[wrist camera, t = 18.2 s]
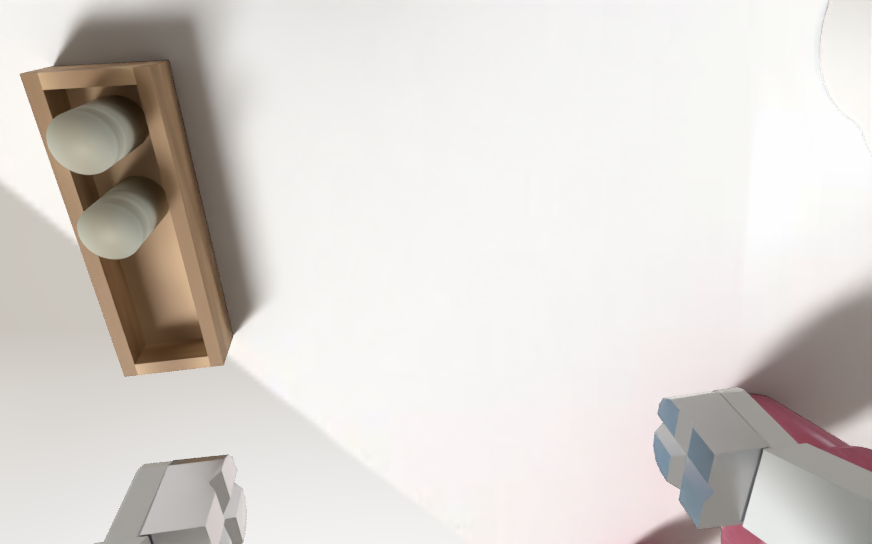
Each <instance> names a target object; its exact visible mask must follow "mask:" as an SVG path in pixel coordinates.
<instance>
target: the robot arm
mask: <svg viewBox="0 0 872 544" xmlns="http://www.w3.org/2000/svg"><path fill="white" fill-rule="evenodd" d="M820 68H821V75H822V79H823V83H824V86H825V89H826V91H827V94H828V96H829V97H830V99H831V101H832V102H833V104H834V105H835V107H836V108H837V109H838V110H839V111H840V112H841V113H842V114H843V115H844V116H846V117H847V118H848V119H850V120H851V121H852V122H853V123H855V124H856V125H857V126H858V127H859V128H860V130H861V131H862V134H863V138H864V140H865V143H866V146H867V148H868V151H869V152H870V154H871V155H872V0H830V2H829V5H828V8H827V11H826V14H825V18H824V22H823V27H822V32H821V40H820ZM658 416H659V417H660V419H661V420H662V421H663V424H662V425H661V426H660V427H659V428H658V429H657V430H656V431H655V434H654V444H653V447H654V453H655V459H656V462H657V464H658V467H659V469H660V471H661V473H662V475H663V476H664V478H665V479H666V481H667V482H669V483H670V484H672V485H674V486H675V487H677V488H679V489H680V495H679V501H680V503H681V504H682V506H683V507H684V509H685V511H686V512H687V514H688V515H689V517H690V518H691V520H692V521H693V523H694V524H695V526H696V527H697V529H706V528H714V527H722V526H730V525H738V524H743V527H744V528H746V529H747V530H748V531H750V532H751V533H753V534H754V535H755V536H757V537H758V538H760V539H761V540H762V541H764V542H765V543H767V544H872V472H871V471H868V470H866V469H864V468H862V467H859V466H857V465H855V464H853V463H850V462H848V461H846V460H844V459H841V458H839V457H837V456H835V455H832V454H830V453H828V452H826V451H823V450H821V449H819V448H817V447H814V446H812V445H810V444H808V443H803V444H798V443H797V442H796V441H795V440H794V439H793V438H792V437H791V436H790V435H789V434H788V433H787V432H786V431H785V430H784V429H783V428H782V427H781V426H780V425H779V424H778V423H777V422H776V421H775V420H774V419H773V418H772V417H771V416H770V415H769V414H768V413H767V412H766V411H765V410H764V409H763V408H762V407H761V406H760V405H759V404H758V403H757V402H756V401H755V400H754V399H753V398H752V397H751V396H750V395H749V394H748V393H747V392H746V391H745V390H743V389H741V388H739V387H734V388H728V389H721V390H714V391H712V392H703V393H695V394H688V395H681V396H674V397H666V398H663V399H662V401H661V402H660V404H659V409H658ZM236 473H237V468H236V465H235V462H234V459H233V456H231V455H220V456H210V457H201V458H191V459H183V460H173V461H170V462H160V463H150V464H144V465H143V466H142V467H140V468H139V469H138V471H137V472H136V474H135V476H134V479H133V481H132V483H131V485H130V487H129V489H128V492H127V494H126V496H125V498H124V500H123V502H122V504H121V506H120V508H119V510H118V513H117V515H116V517H115V519H114V521H113V523H112V526H111V528H110V530H109V532H108V534H107V536H106V538H105V540H104V542H100V543H95V544H242V543H243V541H244V536H245V531H246V514H247V510H246V503H245V502H246V501H245V496H244V492H243V489H242V488H241V487H240V486H239V485H237V484H236V483H234V481H235V477H236Z"/></svg>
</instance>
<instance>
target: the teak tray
mask: <svg viewBox="0 0 872 544" xmlns="http://www.w3.org/2000/svg"><path fill="white" fill-rule="evenodd" d="M20 77H21V80H22V82H23V85H24V88H25V91H26V94H27V97H28V100H29V103H30V105H31V108H32V111H33V114H34V117H35V120H36V123H37V126H38V129H39V131H40V134H41V137H42V140H43V143H44V146H45V149H46V152H47V154H48V157H49V160H50V163H51V166H52V169H53V172H54V175H55V177H56V180H57V183H58V186H59V189H60V192H61V195H62V198H63V201H64V203H65V206H66V209H67V212H68V215H69V218H70V221H71V224H72V226H73V229H74V232H75V235H76V238H77V241H78V244H79V247H80V250H81V252H82V255H83V258H84V261H85V264H86V267H87V270H88V273H89V275H90V278H91V281H92V284H93V287H94V290H95V293H96V296H97V298H98V301H99V304H100V307H101V310H102V313H103V316H104V319H105V321H106V324H107V327H108V330H109V333H110V336H111V338H112V342H113V345H114V347H115V350H116V353H117V356H118V359H119V362H120V365H121V368H122V371H123V373H124V376H125V377H126V376H135V375H143V374H151V373H161V372H169V371H178V370H186V369H195V368H204V367H213V366H221V365H224V362H225V360H226V356H227V353H228V350H229V347H230V344H231V341H232V338H233V333H232V329H231V325H230V320H229V316H228V312H227V308H226V303H225V299H224V295H223V290H222V286H221V282H220V278H219V273H218V269H217V265H216V260H215V256H214V252H213V248H212V243H211V239H210V235H209V230H208V226H207V222H206V218H205V213H204V209H203V205H202V200H201V196H200V192H199V188H198V183H197V179H196V175H195V170H194V166H193V162H192V158H191V153H190V149H189V145H188V140H187V136H186V132H185V128H184V123H183V119H182V115H181V110H180V106H179V102H178V98H177V93H176V89H175V85H174V80H173V76H172V72H171V68H170V63H169V60H161V61H143V62H124V63H105V64H86V65H67V66H52V67H47V68H43V69H39V70H34V71H30V72H25V73H21V74H20Z"/></svg>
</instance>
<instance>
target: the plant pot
mask: <svg viewBox="0 0 872 544" xmlns="http://www.w3.org/2000/svg"><path fill="white" fill-rule="evenodd" d="M749 395H750V396H751V397H752V398H753V399H754V400H755V401H756V402H757V403H758V404H759V405H760V406H761V407H762V408H763V409H764V410H765V411H766V412H767V413H768V414H769V415H770V416H771V417H772V418H773V419H774V420H775V421H776V422H777V423H778V424H779V425H780V426H781V427H782V428H783V429H784V430H785V431H786V432H787V433H788V434H789V435H790V436H791V437H792V438H793V439H794V440H795V441H796V442H797V443H798V444H803V443H808V444H810V445H812V446H814V447H817V448H819V449H821V450H823V451H826V452H828V453H830V454H832V455H835V456H837V457H839V458H841V459H844V460H846V461H848V462H850V463H853V464H855V465H857V466H859V467H862V468H864V469H866V470H868V471H871V472H872V450H871V449H868V448H863V447H856V446H850V445H848V444H846V443H845V442H843V441H842V440H840V439H838V438H837V437H835V436H833V435H832V434H830V433H828V432H827V431H825V430H823V429H822V428H820V427H818V426H817V425H815V424H813V423H812V422H810V421H808V420H807V419H805V418H803V417H802V416H800V415H798V414H797V413H795V412H793V411H791V410H790V409H788V408H786V407H785V406H783V405H781V404H780V403H778V402H776V401H775V400H773V399H771V398H769V397H766V396H763V395H758V394H749ZM721 530H722V534H721V544H767V543H765V542H764V541H762V540H761V539H760V538H758V537H757V536H755V535H754V534H753V533H751V532H750V531H748V530H747V529H746V528H744V527H743V524H738V525H730V526H722V527H721Z"/></svg>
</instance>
